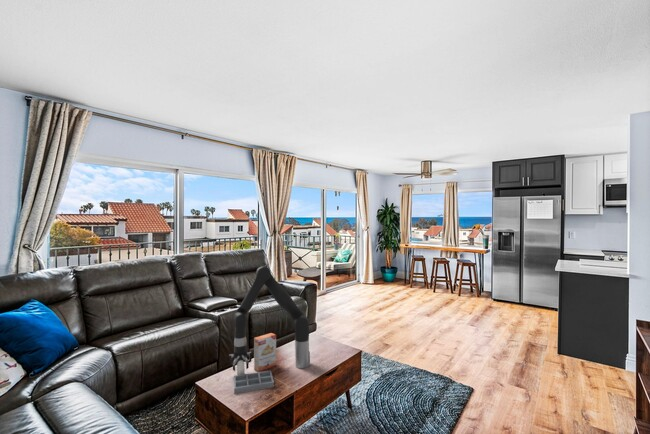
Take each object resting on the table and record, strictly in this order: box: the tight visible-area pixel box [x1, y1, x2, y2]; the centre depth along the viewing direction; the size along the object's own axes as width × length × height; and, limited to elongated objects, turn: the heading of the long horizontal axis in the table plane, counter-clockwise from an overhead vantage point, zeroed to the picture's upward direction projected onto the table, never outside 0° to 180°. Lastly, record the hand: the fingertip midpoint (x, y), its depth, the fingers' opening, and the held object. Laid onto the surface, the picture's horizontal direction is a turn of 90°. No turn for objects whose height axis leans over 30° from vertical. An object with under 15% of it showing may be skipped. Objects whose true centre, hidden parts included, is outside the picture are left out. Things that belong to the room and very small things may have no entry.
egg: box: [236, 360, 246, 376], centre depth 203 cm, size 5×5×8 cm
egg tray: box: [233, 370, 275, 394], centre depth 191 cm, size 22×15×3 cm
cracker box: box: [253, 332, 277, 373], centre depth 212 cm, size 14×6×21 cm, turn 134°
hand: (240, 369), depth 203 cm, fingers open, 7 cm apart
